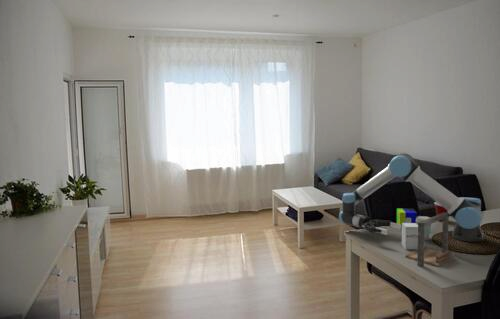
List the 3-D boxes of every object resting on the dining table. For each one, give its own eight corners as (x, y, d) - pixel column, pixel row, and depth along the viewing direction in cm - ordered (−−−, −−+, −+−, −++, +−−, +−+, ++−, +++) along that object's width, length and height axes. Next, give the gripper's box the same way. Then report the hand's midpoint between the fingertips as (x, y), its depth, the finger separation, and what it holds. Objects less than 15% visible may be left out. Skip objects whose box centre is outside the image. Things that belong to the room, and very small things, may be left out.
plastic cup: (451, 224, 230) (452, 206, 229) (432, 222, 236) (433, 204, 235) (452, 219, 240) (453, 202, 238) (434, 218, 245) (434, 200, 244)
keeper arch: (399, 259, 180) (400, 218, 178) (426, 246, 196) (427, 208, 193) (432, 269, 167) (432, 225, 165) (458, 255, 183) (459, 214, 180)
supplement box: (404, 249, 193) (405, 226, 191) (401, 244, 200) (401, 222, 198) (419, 249, 192) (420, 226, 190) (415, 244, 199) (415, 222, 197)
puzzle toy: (416, 228, 226) (416, 212, 225) (399, 228, 228) (399, 212, 227) (412, 223, 236) (413, 208, 235) (396, 223, 238) (396, 208, 237)
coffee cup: (416, 234, 214) (416, 215, 213) (432, 236, 210) (432, 216, 209) (414, 239, 207) (414, 219, 205) (431, 241, 203) (431, 220, 201)
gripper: (374, 223, 227) (406, 231, 210) (348, 232, 213) (380, 241, 196) (374, 211, 226) (406, 218, 209) (348, 219, 212) (380, 228, 195)
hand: (394, 229), depth 203 cm, fingers open, 13 cm apart
